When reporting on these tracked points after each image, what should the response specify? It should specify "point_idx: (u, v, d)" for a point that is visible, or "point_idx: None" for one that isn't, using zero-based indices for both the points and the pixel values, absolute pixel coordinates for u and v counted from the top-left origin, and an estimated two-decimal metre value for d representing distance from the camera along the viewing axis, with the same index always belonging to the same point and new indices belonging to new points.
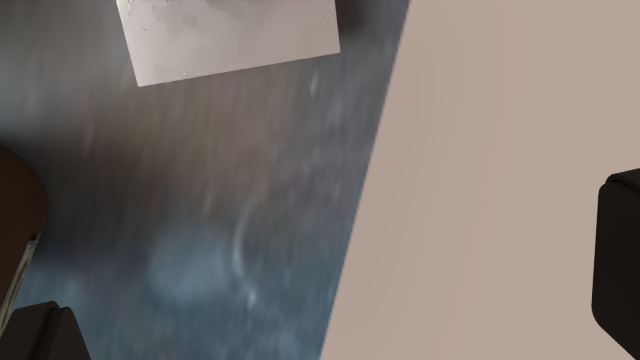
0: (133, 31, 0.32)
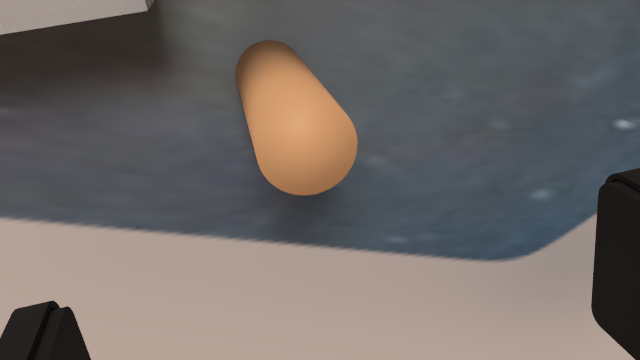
0: None
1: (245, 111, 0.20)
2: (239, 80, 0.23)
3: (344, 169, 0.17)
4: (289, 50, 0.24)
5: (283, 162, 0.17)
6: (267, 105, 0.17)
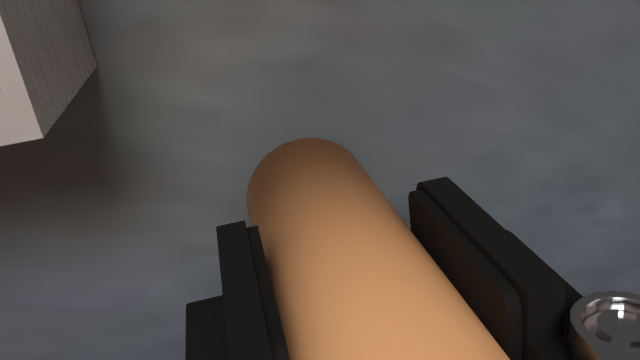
0: None
1: None
2: None
3: None
4: (352, 166, 0.13)
5: None
6: None
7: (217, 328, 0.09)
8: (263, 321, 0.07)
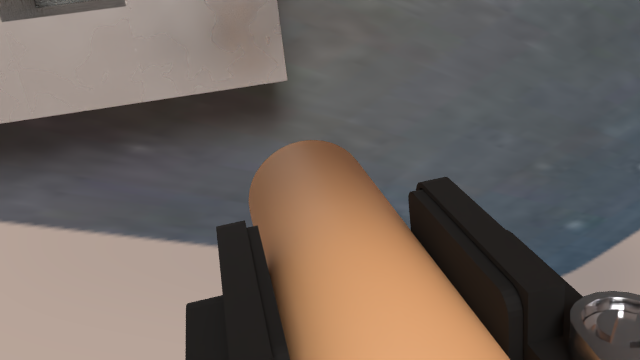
0: None
1: None
2: (260, 233, 0.12)
3: None
4: (353, 168, 0.13)
5: None
6: None
7: (218, 328, 0.09)
8: (263, 321, 0.07)
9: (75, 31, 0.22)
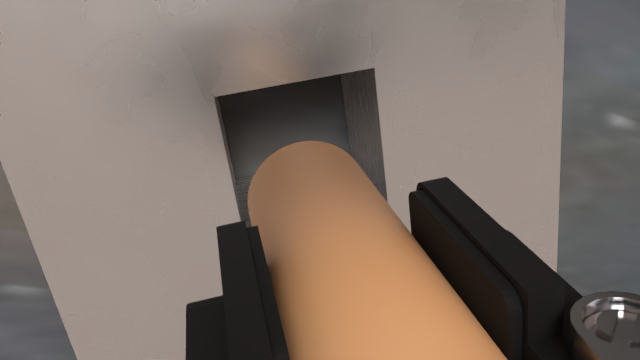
0: None
1: None
2: None
3: None
4: (352, 169, 0.13)
5: None
6: None
7: (217, 329, 0.09)
8: (263, 321, 0.07)
9: None
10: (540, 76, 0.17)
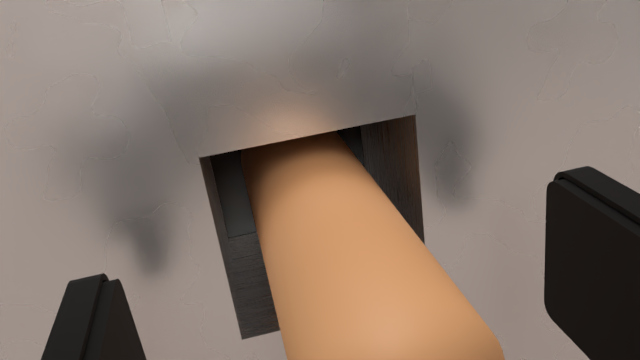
0: None
1: (264, 259, 0.12)
2: (248, 179, 0.15)
3: None
4: None
5: None
6: (322, 302, 0.08)
7: None
8: None
9: None
10: (628, 121, 0.13)
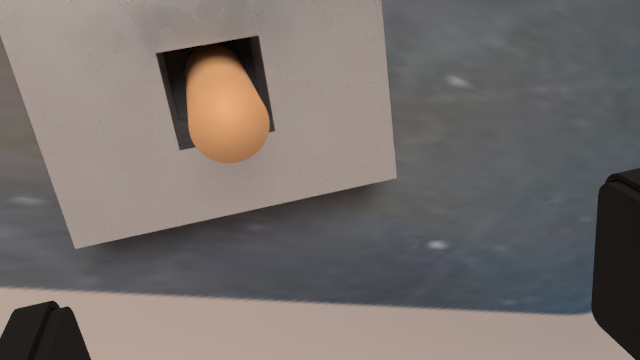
0: None
1: None
2: (185, 76, 0.28)
3: (260, 142, 0.22)
4: (228, 51, 0.29)
5: (210, 137, 0.22)
6: (198, 92, 0.22)
7: None
8: None
9: None
10: (369, 42, 0.27)
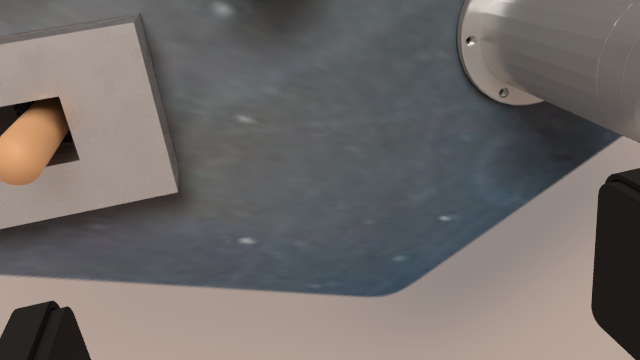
0: None
1: None
2: None
3: (38, 172, 0.34)
4: (54, 102, 0.41)
5: (3, 168, 0.34)
6: None
7: None
8: None
9: (51, 175, 0.39)
10: (141, 99, 0.39)
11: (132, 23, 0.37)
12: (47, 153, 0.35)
